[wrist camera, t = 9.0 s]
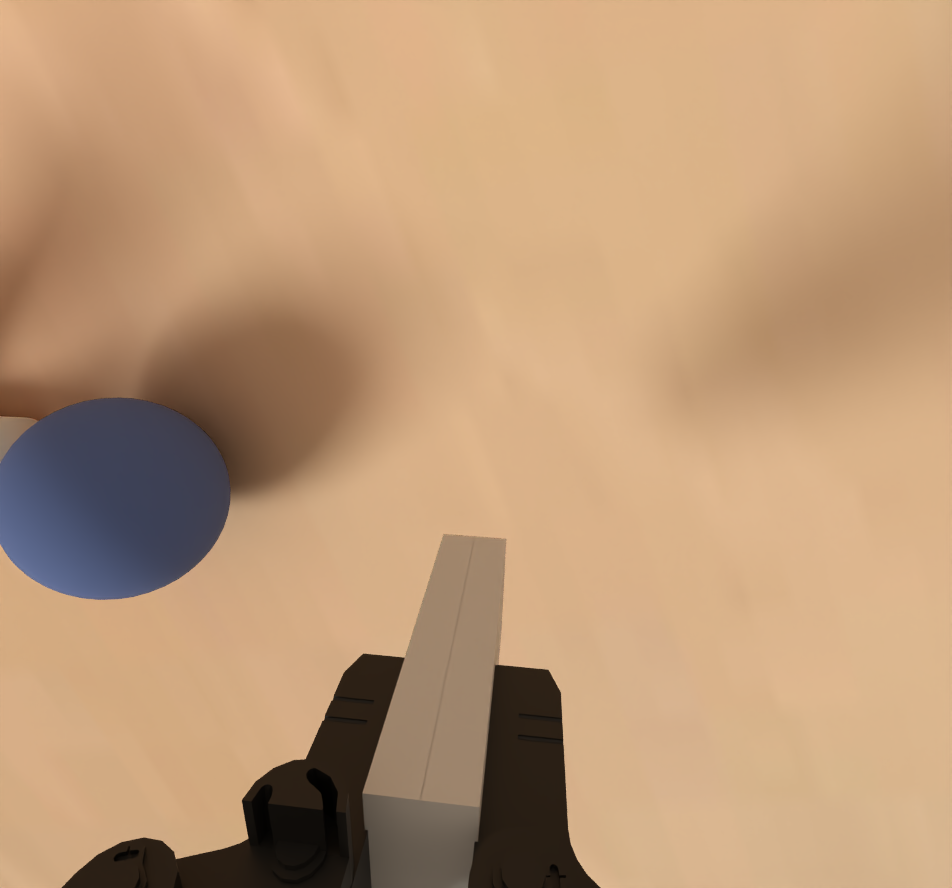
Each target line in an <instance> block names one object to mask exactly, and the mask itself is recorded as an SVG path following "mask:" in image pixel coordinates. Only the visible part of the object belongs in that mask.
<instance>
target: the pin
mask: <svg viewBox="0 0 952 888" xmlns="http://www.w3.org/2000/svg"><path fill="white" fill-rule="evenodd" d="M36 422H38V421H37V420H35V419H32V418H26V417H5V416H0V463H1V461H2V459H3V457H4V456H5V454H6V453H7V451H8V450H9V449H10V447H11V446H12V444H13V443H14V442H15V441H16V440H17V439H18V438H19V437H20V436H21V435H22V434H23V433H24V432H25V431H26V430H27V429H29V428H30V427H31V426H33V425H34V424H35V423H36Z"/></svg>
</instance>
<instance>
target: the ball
mask: <svg viewBox="0 0 952 888" xmlns="http://www.w3.org/2000/svg"><path fill="white" fill-rule="evenodd" d="M229 505H230V482H229V475H228V471H227V468H226V465H225V462H224V460H223V458H222V456H221V454H220V452H219V450H218V448H217V447H216V445H215V444H214V443H213V441H212V440H211V439H210V437H209V436H208V435H207V434H206V433H205V432H204V431H203V430H202V429H201V428H200V427H199V426H197V425H196V424H195V423H194V422H192V421H191V420H190V419H188V418H187V417H185V416H183V415H182V414H180V413H178V412H176V411H174V410H172V409H169V408H167V407H165V406H162V405H159V404H156V403H152V402H149V401H144V400H138V399H132V398H104V399H95V400H89V401H84V402H80V403H77V404H73V405H70V406H67V407H65V408H63V409H60V410H58V411H56V412H54V413H52V414H50V415H48V416H46V417H45V418H43V419H41V420H39V421H38V422H36V423H35V424H34V425H33V426H31V427H30V428H29V429H27V430H26V431H25V432H24V433H23V434H22V435H21V436H20V437H19V438H18V439H17V440H16V441H15V442H14V443H13V444H12V446H11V447H10V449H9V450H8V451H7V453H6V454H5V456H4V457H3V459H2V461H1V463H0V545H1V546H2V548H3V549H4V551H5V552H6V554H7V555H8V557H9V558H10V559H11V561H12V562H13V563H14V564H15V565H16V566H17V567H18V568H19V569H20V570H22V571H23V572H24V573H25V574H26V575H27V576H29V577H30V578H32V579H33V580H35V581H37V582H38V583H40V584H42V585H44V586H45V587H47V588H50V589H52V590H55V591H57V592H60V593H63V594H66V595H71V596H75V597H79V598H86V599H97V600H105V599H122V598H129V597H134V596H138V595H141V594H145V593H148V592H151V591H154V590H156V589H159V588H161V587H164V586H166V585H168V584H170V583H172V582H174V581H175V580H177V579H179V578H180V577H182V576H183V575H185V574H186V573H187V572H189V571H190V570H191V569H192V568H193V567H195V566H196V565H197V564H198V563H199V562H200V561H201V560H202V559H203V558H204V557H205V556H206V555H207V553H208V552H209V551H210V550H211V548H212V547H213V545H214V544H215V543H216V541H217V540H218V538H219V536H220V534H221V532H222V530H223V527H224V525H225V522H226V519H227V516H228V511H229Z"/></svg>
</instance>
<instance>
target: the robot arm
mask: <svg viewBox="0 0 952 888" xmlns="http://www.w3.org/2000/svg"><path fill="white" fill-rule="evenodd" d="M505 554H506V539H501V538H488V537H475V536H462V535H449V534H443V538H442V541H441V544H440V547H439V550H438V553H437V557H436V560H435V563H434V566H433V569H432V573H431V576H430V579H429V582H428V585H427V589H426V592H425V595H424V598H423V601H422V605H421V608H420V611H419V614H418V617H417V621H416V624H415V627H414V630H413V633H412V636H411V640H410V643H409V646H408V649H407V652H406V656H405V658H402V657H392V656H382V655H371V654H363V655H362V656H361V657H359V658H358V659H357V660H356V661H355V662H354V663H353V664H352V665H351V666H350V667H349V668H348V669H347V670H346V671H345V672H344V674H343V676H342V678H341V681H340V683H339V685H338V687H337V690H336V692H335V694H334V698H333V701H331V703H330V705H329V708H328V710H327V712H326V714H325V719H324V721H322V723H321V726H320V728H319V730H318V733H317V735H316V737H315V739H314V742H313V744H312V746H311V748H310V751H309V753H308V755H307V757H306V759H305V760H293V761H291V762H288V763H285V764H283V765H280V766H278V767H275V768H273V769H272V770H270V771H269V772H268V773H267V774H265V775H264V776H263V777H261V778H260V779H259V780H257V781H256V782H255V783H254V785H253V786H252V787H251V789H250V790H249V791H248V793H247V794H246V795H245V797H244V798H243V799H242V804H243V809H244V815H245V821H246V827H247V832H248V838H249V839H247V840H245V841H244V842H242V843H240V844H237V845H234V846H231V847H228V848H225V849H221V850H216V851H212V852H207V853H202V854H198V855H193V856H189V857H184V858H180V859H176V858H175V854H174V851H172V850H171V849H170V848H169V847H168V846H167V845H166V844H165V843H164V842H163V841H160V840H154V839H149V838H140V839H135V840H130V841H125V842H121V843H119V844H117V845H115V846H114V847H112V848H110V849H108V850H106V851H104V852H102V853H100V854H98V855H97V856H96V857H94V858H93V859H92V860H91V861H90V862H88V863H87V864H86V865H85V866H84V867H83V868H81V869H80V870H79V871H78V872H77V873H75V874H74V875H73V877H72V878H71V879H70V880H69V881H68V882H67V883H66V884H65V885H64V886H63V887H62V888H600V887H599V886H598V885H597V884H596V883H595V882H594V881H593V880H592V879H591V878H590V877H589V876H588V875H587V874H586V872H585V871H584V869H583V868H582V866H581V865H580V863H579V862H578V860H577V858H576V856H575V854H574V851H573V849H572V846H571V843H570V838H569V832H568V820H567V801H566V783H565V764H564V745H563V726H562V707H561V692H560V690H559V688H558V687H557V685H556V683H555V681H554V679H553V677H552V676H551V674H550V672H549V670H545V669H534V668H524V667H514V666H503V665H498V664H499V653H500V641H501V628H502V610H503V591H504V572H505Z"/></svg>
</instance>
